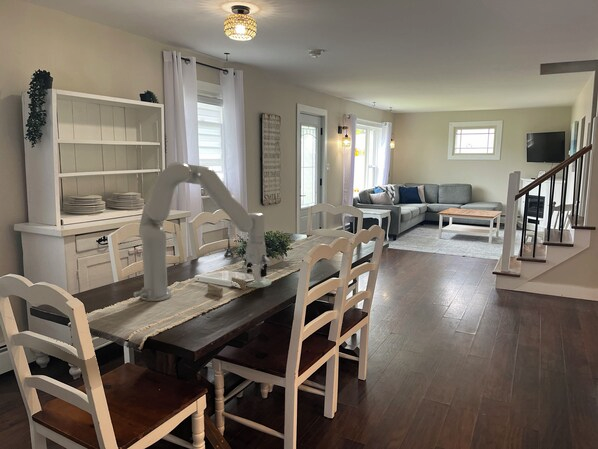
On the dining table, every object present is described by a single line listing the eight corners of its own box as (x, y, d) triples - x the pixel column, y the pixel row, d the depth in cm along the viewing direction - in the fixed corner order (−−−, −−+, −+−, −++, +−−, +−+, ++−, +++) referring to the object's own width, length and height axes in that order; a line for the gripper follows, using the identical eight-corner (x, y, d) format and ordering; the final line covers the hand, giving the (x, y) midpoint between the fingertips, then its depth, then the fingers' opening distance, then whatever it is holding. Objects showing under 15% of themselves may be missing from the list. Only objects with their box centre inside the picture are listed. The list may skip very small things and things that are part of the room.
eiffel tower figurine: (229, 260, 258) (228, 237, 256) (214, 258, 263) (214, 236, 260) (243, 255, 271) (243, 233, 269) (230, 253, 276) (229, 231, 273)
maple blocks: (220, 297, 196) (220, 288, 195) (207, 292, 202) (207, 283, 201) (246, 289, 207) (246, 281, 206) (233, 285, 213) (233, 276, 212)
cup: (264, 284, 212) (264, 267, 210) (243, 283, 213) (243, 266, 212) (267, 280, 218) (267, 264, 217) (247, 279, 220) (247, 263, 219)
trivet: (255, 289, 207) (255, 288, 206) (235, 283, 216) (235, 282, 216) (277, 283, 217) (277, 281, 217) (257, 277, 226) (257, 275, 226)
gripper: (238, 237, 215) (238, 272, 218) (263, 243, 204) (263, 280, 207) (250, 235, 221) (250, 269, 224) (275, 240, 210) (275, 276, 213)
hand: (256, 274), depth 216 cm, fingers open, 9 cm apart
